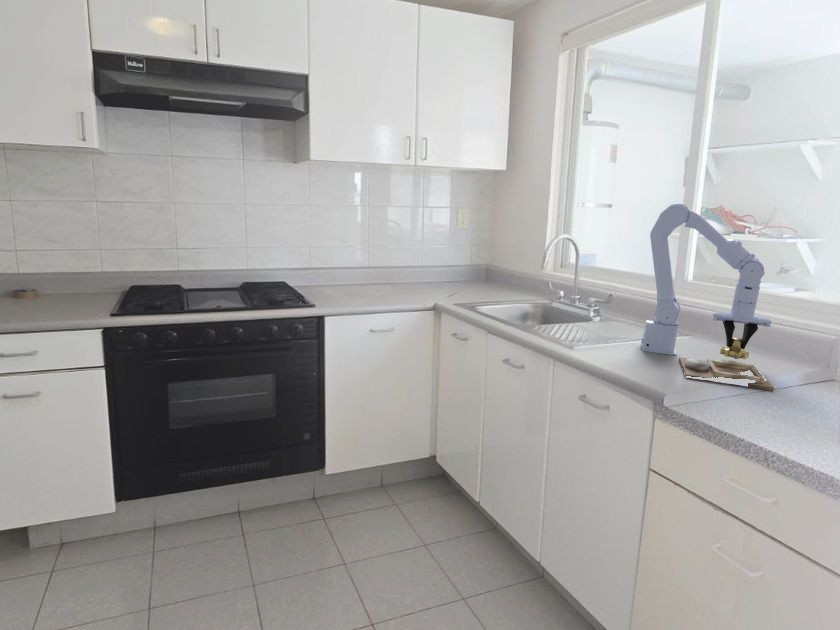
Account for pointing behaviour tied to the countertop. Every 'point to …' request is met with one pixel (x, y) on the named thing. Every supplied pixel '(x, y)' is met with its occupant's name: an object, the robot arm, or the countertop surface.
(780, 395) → the countertop surface
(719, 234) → the robot arm
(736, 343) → the planet gear
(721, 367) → the carrier board
